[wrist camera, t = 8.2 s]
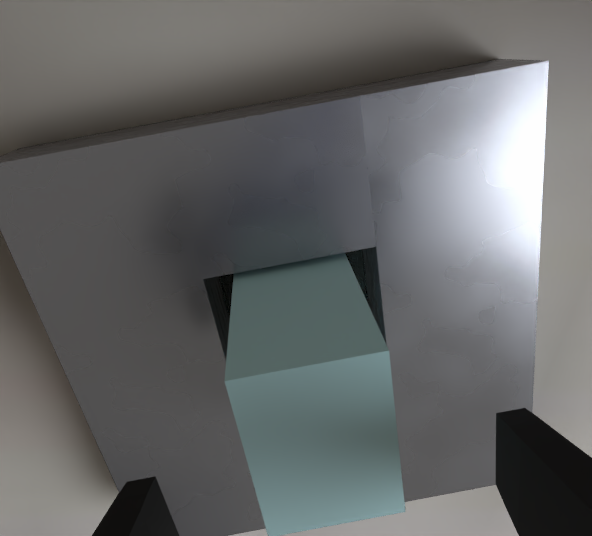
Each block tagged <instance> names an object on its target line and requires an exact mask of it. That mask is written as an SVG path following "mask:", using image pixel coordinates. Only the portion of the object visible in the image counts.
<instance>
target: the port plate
mask: <svg viewBox="0 0 592 536" xmlns="http://www.w3.org/2000/svg"><path fill="white" fill-rule="evenodd" d="M548 67H549V61H540V60H512V59H498V60H493V61H487V62H482V63H477V64H471V65H466V66H461V67H455V68H450V69H444V70H439V71H434V72H428V73H423V74H418V75H412V76H407V77H401V78H396V79H391V80H385V81H380V82H375V83H369V84H364V85H358V86H353V87H348V88H342V89H337V90H332V91H326V92H321V93H316V94H310V95H305V96H299V97H294V98H289V99H283V100H278V101H273V102H267V103H262V104H256V105H251V106H246V107H240V108H235V109H230V110H224V111H219V112H213V113H208V114H203V115H197V116H192V117H187V118H181V119H176V120H171V121H165V122H160V123H154V124H149V125H144V126H138V127H133V128H128V129H122V130H117V131H111V132H106V133H101V134H95V135H90V136H85V137H79V138H74V139H68V140H63V141H58V142H52V143H47V144H42V145H36V146H31V147H25V148H20V149H17V150H14V151H12V152H10V153H7V154H5V155H3V156H0V230H1V232H2V235H3V237H4V239H5V241H6V243H7V246H8V248H9V250H10V252H11V254H12V257H13V259H14V261H15V263H16V265H17V268H18V270H19V272H20V274H21V277H22V279H23V281H24V283H25V285H26V288H27V290H28V292H29V294H30V296H31V299H32V301H33V303H34V305H35V308H36V310H37V312H38V314H39V316H40V319H41V321H42V323H43V325H44V327H45V330H46V332H47V334H48V336H49V338H50V341H51V343H52V345H53V347H54V350H55V352H56V354H57V356H58V358H59V361H60V363H61V365H62V367H63V369H64V372H65V374H66V376H67V378H68V380H69V383H70V385H71V387H72V389H73V392H74V394H75V396H76V398H77V400H78V403H79V405H80V407H81V409H82V411H83V414H84V416H85V418H86V420H87V422H88V425H89V427H90V429H91V431H92V434H93V436H94V438H95V440H96V442H97V445H98V447H99V449H100V451H101V453H102V456H103V458H104V460H105V462H106V464H107V467H108V469H109V471H110V473H111V476H112V478H113V480H114V482H115V484H116V487H117V489H118V491H119V492H120V491H121V489H122V488H123V486H124V485H125V484H126V482H128V481H133V480H139V479H144V478H149V477H155V476H156V479H157V481H158V484H159V486H160V489H161V491H162V494H163V496H164V499H165V501H166V504H167V506H168V509H169V511H170V514H171V516H172V519H173V521H174V524H175V526H176V529H177V531H178V534H179V536H228V535H233V534H238V533H244V532H249V531H254V530H260V529H265V528H266V527H265V523H264V520H263V516H262V513H261V509H260V506H259V502H258V498H257V495H256V491H255V488H254V484H253V481H252V477H251V474H250V470H249V467H248V463H247V459H246V456H245V452H244V449H243V445H242V442H241V438H240V435H239V431H238V428H237V424H236V420H235V417H234V413H233V410H232V406H231V403H230V399H229V396H228V392H227V388H226V385H225V369H226V357H227V346H228V334H229V323H230V318H229V315H228V311H227V307H226V303H225V299H224V295H223V292H222V288H221V284H220V280H219V276H223V275H228V274H234V273H239V272H244V271H250V270H255V269H260V268H265V267H271V266H276V265H281V264H287V263H292V262H297V261H303V260H308V259H313V258H319V257H324V256H329V255H335V254H340V253H345V252H351V251H356V250H361V249H362V254H363V263H364V271H365V279H366V288H367V296H368V304H369V307H370V309H371V312H372V314H373V316H374V318H375V321H376V323H377V325H378V327H379V329H380V332H381V334H382V336H383V338H384V340H385V343H386V345H387V347H388V349H389V355H390V365H391V375H392V384H393V394H394V404H395V414H396V424H397V434H398V444H399V453H400V463H401V473H402V483H403V493H404V502H407V501H412V500H418V499H423V498H428V497H433V496H439V495H444V494H449V493H454V492H460V491H465V490H470V489H475V488H481V487H486V486H491V485H496V413H499V412H505V411H510V410H516V409H521V408H526V409H527V410H529V411H530V412H532V406H533V385H534V364H535V343H536V321H537V300H538V279H539V258H540V237H541V215H542V194H543V173H544V152H545V130H546V109H547V88H548Z"/></svg>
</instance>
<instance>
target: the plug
mask: <svg viewBox="0 0 592 536" xmlns="http://www.w3.org/2000/svg"><path fill="white" fill-rule="evenodd" d="M225 385H226V388H227V392H228V396H229V399H230V403H231V406H232V410H233V413H234V417H235V420H236V424H237V428H238V431H239V435H240V438H241V442H242V445H243V449H244V452H245V456H246V459H247V463H248V467H249V470H250V474H251V477H252V481H253V484H254V488H255V491H256V495H257V498H258V502H259V506H260V509H261V513H262V516H263V520H264V523H265V527H266V530H267V534H268V536H279V535H284V534H290V533H295V532H300V531H306V530H311V529H316V528H322V527H327V526H332V525H338V524H343V523H348V522H354V521H359V520H364V519H370V518H375V517H380V516H385V515H391V514H396V513H401V512H405V503H404V493H403V483H402V473H401V463H400V453H399V444H398V434H397V424H396V414H395V404H394V394H393V384H392V375H391V365H390V355H389V349H388V347H387V345H386V343H385V340H384V338H383V336H382V334H381V332H380V329H379V327H378V325H377V323H376V321H375V318H374V316H373V314H372V312H371V309H370V307H369V305H368V303H367V301H366V298H365V296H364V294H363V292H362V290H361V287H360V285H359V283H358V281H357V279H356V276H355V274H354V272H353V270H352V267H351V265H350V263H349V261H348V259H347V256H346V254H345V253H340V254H335V255H329V256H324V257H319V258H313V259H308V260H303V261H297V262H292V263H287V264H281V265H276V266H271V267H265V268H260V269H255V270H250V271H244V272H239V273H234V276H233V288H232V300H231V311H230V323H229V334H228V346H227V357H226V369H225Z"/></svg>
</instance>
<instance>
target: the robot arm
mask: <svg viewBox="0 0 592 536" xmlns="http://www.w3.org/2000/svg"><path fill="white" fill-rule="evenodd" d="M496 485H497V488H498V490H499V492H500V495H501V497H502V499H503V502H504V504H505V506H506V508H507V511H508V513H509V515H510V517H511V519H512V522H513V524H514V526H515V528H516V530H517V533H518V534H519V536H592V458H591V457H590V456H589V455H587V454H586V453H585V452H583V451H582V450H581V449H579V448H578V447H577V446H575V445H574V444H573V443H571V442H570V441H569V440H567V439H566V438H565V437H563V436H562V435H561V434H559V433H558V432H557V431H555V430H554V429H553V428H551V427H550V426H549V425H547V424H546V423H545V422H544V421H542V420H541V419H540V418H538V417H537V416H536V415H534V414H533V413H532V412H530V411H529V410H527V409H526V408H521V409H516V410H510V411H505V412H499V413H496ZM92 536H179V534H178V531H177V529H176V526H175V524H174V521H173V519H172V516H171V514H170V511H169V509H168V506H167V504H166V501H165V499H164V496H163V494H162V491H161V489H160V486H159V484H158V481H157V479H156V476H155V477H149V478H144V479H139V480H133V481H128V482H126V484H125V485H124V486H123V488H122V489H121V491H120V492H119V494H118V495H117V497H116V499H115V500H114V502H113V503H112V505H111V506H110V508H109V510H108V511H107V513H106V514H105V516H104V517H103V519H102V521H101V522H100V524H99V525H98V527H97V528H96V530H95V532H94V533H93V535H92Z"/></svg>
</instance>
